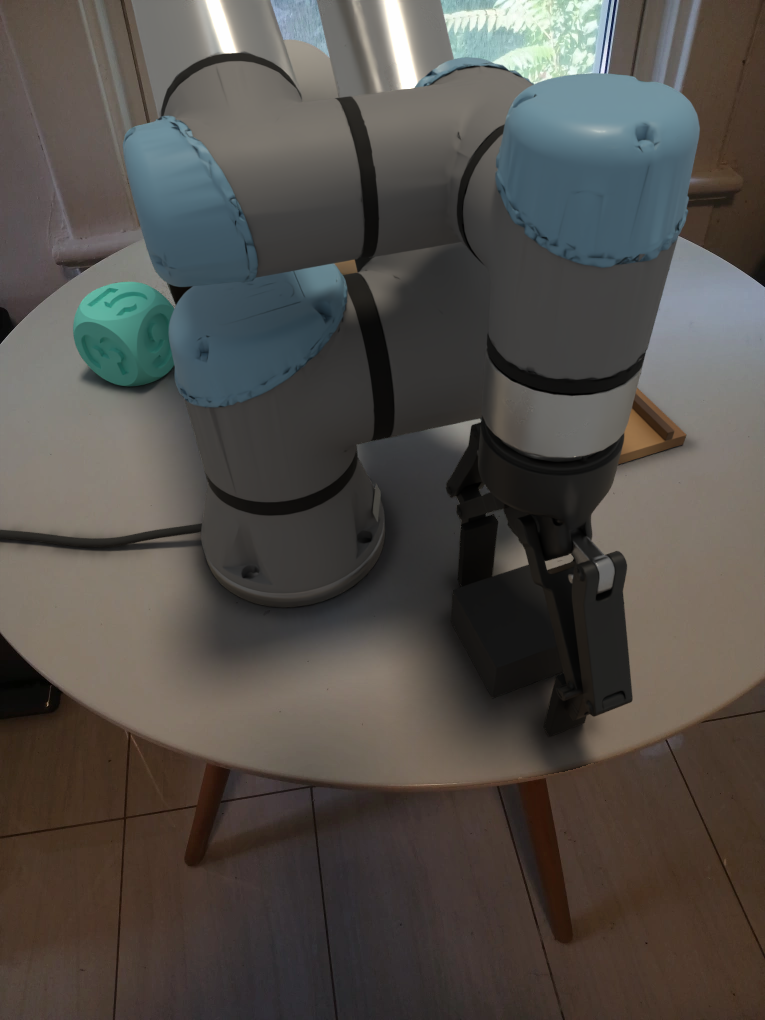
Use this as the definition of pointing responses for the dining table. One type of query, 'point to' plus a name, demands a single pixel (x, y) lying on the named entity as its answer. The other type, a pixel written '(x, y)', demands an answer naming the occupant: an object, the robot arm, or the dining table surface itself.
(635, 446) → the tray
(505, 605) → the black rectangular block
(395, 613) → the dining table surface
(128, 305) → the decorative dice
